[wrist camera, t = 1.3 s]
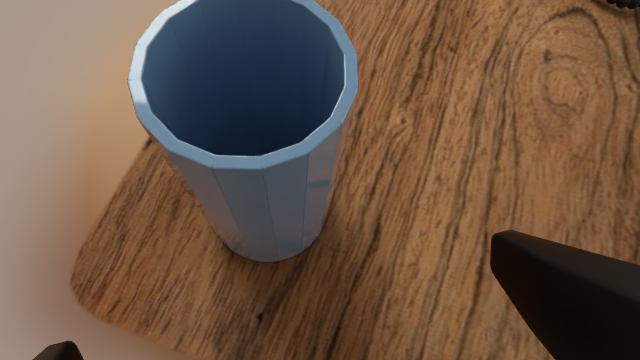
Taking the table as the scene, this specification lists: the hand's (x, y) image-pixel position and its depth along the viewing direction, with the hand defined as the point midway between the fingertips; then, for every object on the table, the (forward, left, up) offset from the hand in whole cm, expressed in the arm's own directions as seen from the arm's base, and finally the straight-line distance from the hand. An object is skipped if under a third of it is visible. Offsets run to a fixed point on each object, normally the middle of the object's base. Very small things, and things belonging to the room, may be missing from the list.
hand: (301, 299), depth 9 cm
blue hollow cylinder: (+6, +2, -13) cm, 14 cm away
